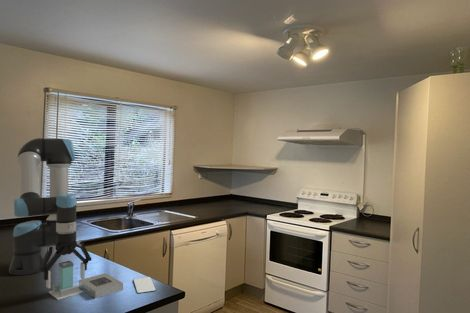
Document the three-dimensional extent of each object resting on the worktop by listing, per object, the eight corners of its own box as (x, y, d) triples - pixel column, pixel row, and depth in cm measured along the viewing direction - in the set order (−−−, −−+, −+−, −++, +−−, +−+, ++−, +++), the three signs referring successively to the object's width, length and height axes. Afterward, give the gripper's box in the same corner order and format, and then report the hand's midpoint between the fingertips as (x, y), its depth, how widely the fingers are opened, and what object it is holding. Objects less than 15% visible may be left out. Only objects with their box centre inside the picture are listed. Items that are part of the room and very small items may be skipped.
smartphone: (156, 292, 145) (150, 278, 160) (156, 290, 145) (150, 276, 160) (137, 295, 142) (132, 280, 157) (137, 293, 142) (132, 278, 157)
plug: (58, 291, 142) (58, 262, 142) (69, 288, 145) (69, 260, 145) (62, 294, 139) (62, 265, 139) (73, 291, 142) (73, 263, 142)
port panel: (78, 287, 148) (78, 279, 148) (105, 279, 157) (105, 272, 157) (95, 298, 137) (95, 290, 137) (123, 289, 146) (123, 282, 146)
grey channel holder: (48, 292, 142) (48, 285, 142) (73, 285, 149) (73, 279, 149) (57, 300, 135) (57, 293, 135) (83, 292, 142) (83, 285, 142)
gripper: (35, 239, 130) (35, 294, 130) (99, 228, 148) (99, 277, 149) (29, 235, 135) (29, 288, 136) (92, 225, 153) (91, 272, 154)
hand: (66, 282), depth 142 cm, fingers open, 13 cm apart
